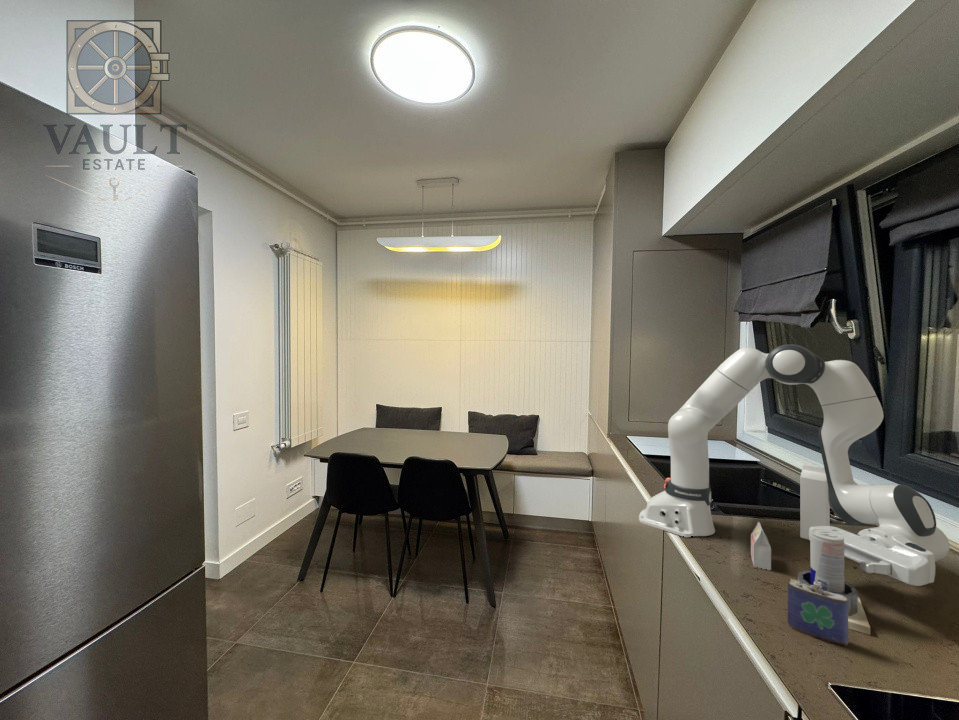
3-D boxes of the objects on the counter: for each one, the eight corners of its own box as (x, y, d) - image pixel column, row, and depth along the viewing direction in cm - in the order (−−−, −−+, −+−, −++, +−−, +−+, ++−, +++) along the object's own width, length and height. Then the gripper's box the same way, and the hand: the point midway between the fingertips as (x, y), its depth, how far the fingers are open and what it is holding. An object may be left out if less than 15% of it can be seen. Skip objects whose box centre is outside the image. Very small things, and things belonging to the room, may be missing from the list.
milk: (826, 545, 112) (826, 471, 112) (799, 537, 117) (800, 466, 116) (829, 538, 116) (830, 467, 116) (804, 531, 121) (804, 462, 120)
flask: (847, 640, 75) (847, 587, 74) (849, 650, 72) (849, 594, 72) (787, 620, 80) (787, 570, 80) (787, 628, 78) (787, 577, 78)
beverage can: (851, 605, 83) (851, 537, 82) (832, 610, 81) (832, 541, 81) (822, 590, 88) (822, 526, 88) (804, 594, 87) (803, 529, 86)
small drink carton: (767, 558, 105) (767, 522, 105) (770, 570, 99) (771, 532, 99) (750, 555, 107) (750, 520, 107) (753, 566, 101) (753, 529, 101)
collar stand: (792, 611, 83) (792, 586, 83) (790, 584, 93) (790, 562, 93) (870, 635, 76) (870, 608, 76) (859, 603, 85) (859, 579, 85)
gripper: (832, 516, 98) (790, 522, 95) (944, 557, 78) (896, 566, 75) (832, 541, 98) (790, 547, 95) (944, 587, 78) (896, 597, 75)
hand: (838, 556), depth 85 cm, fingers open, 8 cm apart
